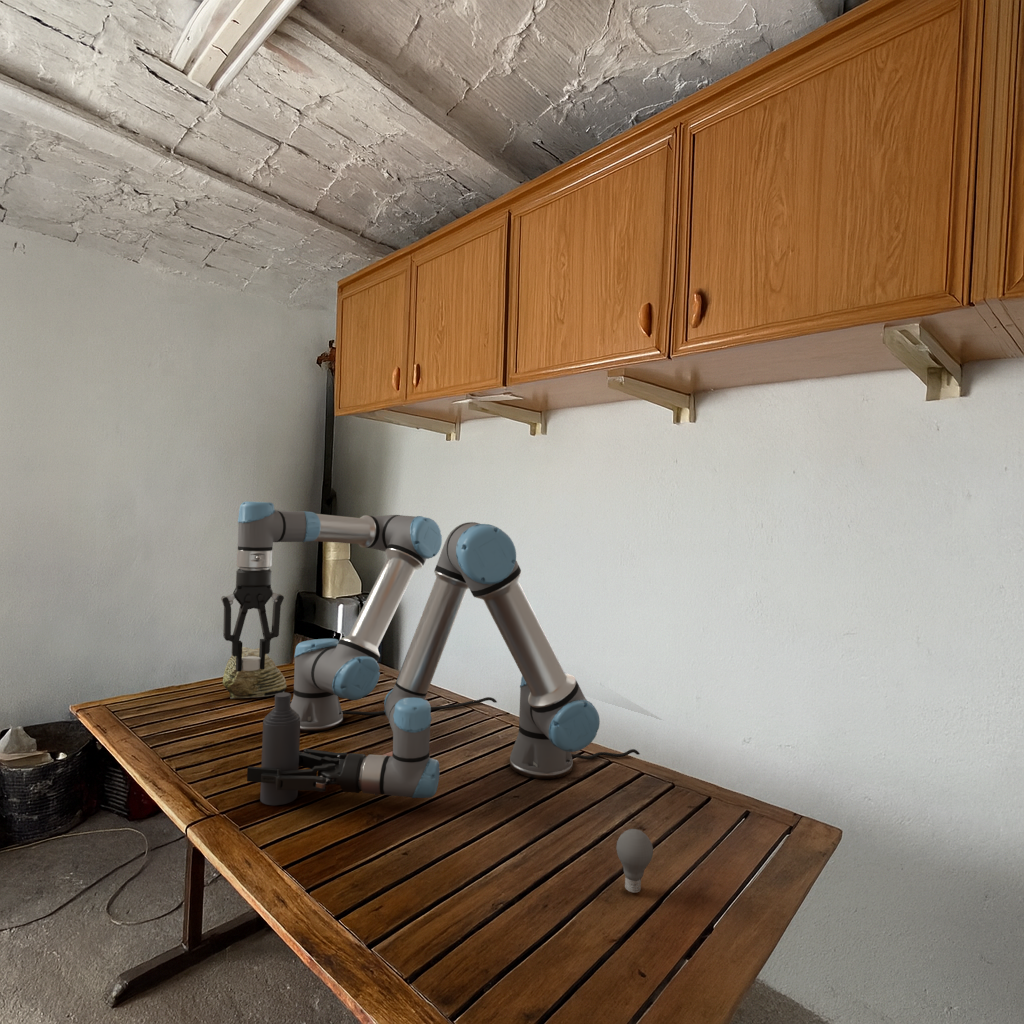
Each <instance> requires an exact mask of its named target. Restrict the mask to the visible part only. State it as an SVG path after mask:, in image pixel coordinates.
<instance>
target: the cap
mask: <svg viewBox="0 0 1024 1024" xmlns="http://www.w3.org/2000/svg"><path fill="white" fill-rule="evenodd" d="M260 662H261V658H260V657H257V656H248V657H243V658H242V667H241V670H243V671H254V670H258V669H260Z"/></svg>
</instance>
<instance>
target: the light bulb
mask: <svg viewBox="0 0 1024 1024" xmlns="http://www.w3.org/2000/svg"><path fill="white" fill-rule="evenodd" d="M615 849H616V854H617V857H618V859H619V861H620V863H621V865H622V867H623V873H624V874H623V875H624V876H625V878H624V888H625V890H627V891H628V892H630V893H634V894H635V893H639V892H640V891H641V889H642V887H641V886H642V879H643V877H644V875H645V871H646V868H647V867H648V866H649V864H650V863H651V861H652V859H653V855H654V847H653V843H652V841H651V838H649V836H648V835H647V834H646V833H645V832H643V831H642V830H641V829H636V828H629V829H627V830H625V831H623V832H622V833H621V834H620V835H619V837H618V839H617V841H616V847H615Z"/></svg>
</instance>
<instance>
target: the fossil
mask: <svg viewBox="0 0 1024 1024" xmlns="http://www.w3.org/2000/svg"><path fill="white" fill-rule="evenodd" d="M259 648H260V647H258V648H251V647H247V646H246V647H245V646H242V658H243V657H248V656H257V657H259ZM222 676H223V677H222V685H223V687H224V688H225V690H226V691H228V693H229V698H230V699H250V698H264V697H271V696H275V694H277V693H283V692H286V689H287V687H288V686H287V680H286V678H285V676H284V674H283V673H282V672H281V669H279V668H278V667H277V665H276V663H275V662H274V660H273V659H272V658H271V657H270V656H269V654H265V668H264V669H258V670H254V671H243V670H241V671H240V672H238V671H237V670H236V657H233V655H232V654H231V656H230V657H229V659H228V660H227V663H226V666H225V668H224V671H223V675H222Z"/></svg>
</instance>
